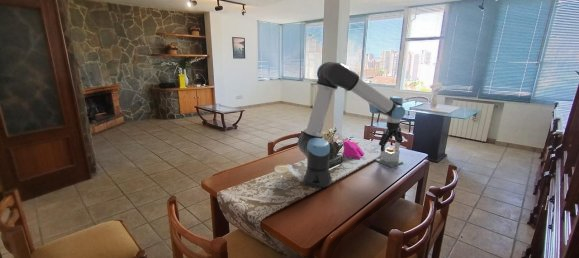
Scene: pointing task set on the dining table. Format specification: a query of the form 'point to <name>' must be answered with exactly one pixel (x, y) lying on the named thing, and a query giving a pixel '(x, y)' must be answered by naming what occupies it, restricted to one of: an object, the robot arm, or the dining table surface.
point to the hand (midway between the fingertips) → (389, 153)
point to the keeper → (388, 163)
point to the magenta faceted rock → (352, 149)
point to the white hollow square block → (390, 156)
